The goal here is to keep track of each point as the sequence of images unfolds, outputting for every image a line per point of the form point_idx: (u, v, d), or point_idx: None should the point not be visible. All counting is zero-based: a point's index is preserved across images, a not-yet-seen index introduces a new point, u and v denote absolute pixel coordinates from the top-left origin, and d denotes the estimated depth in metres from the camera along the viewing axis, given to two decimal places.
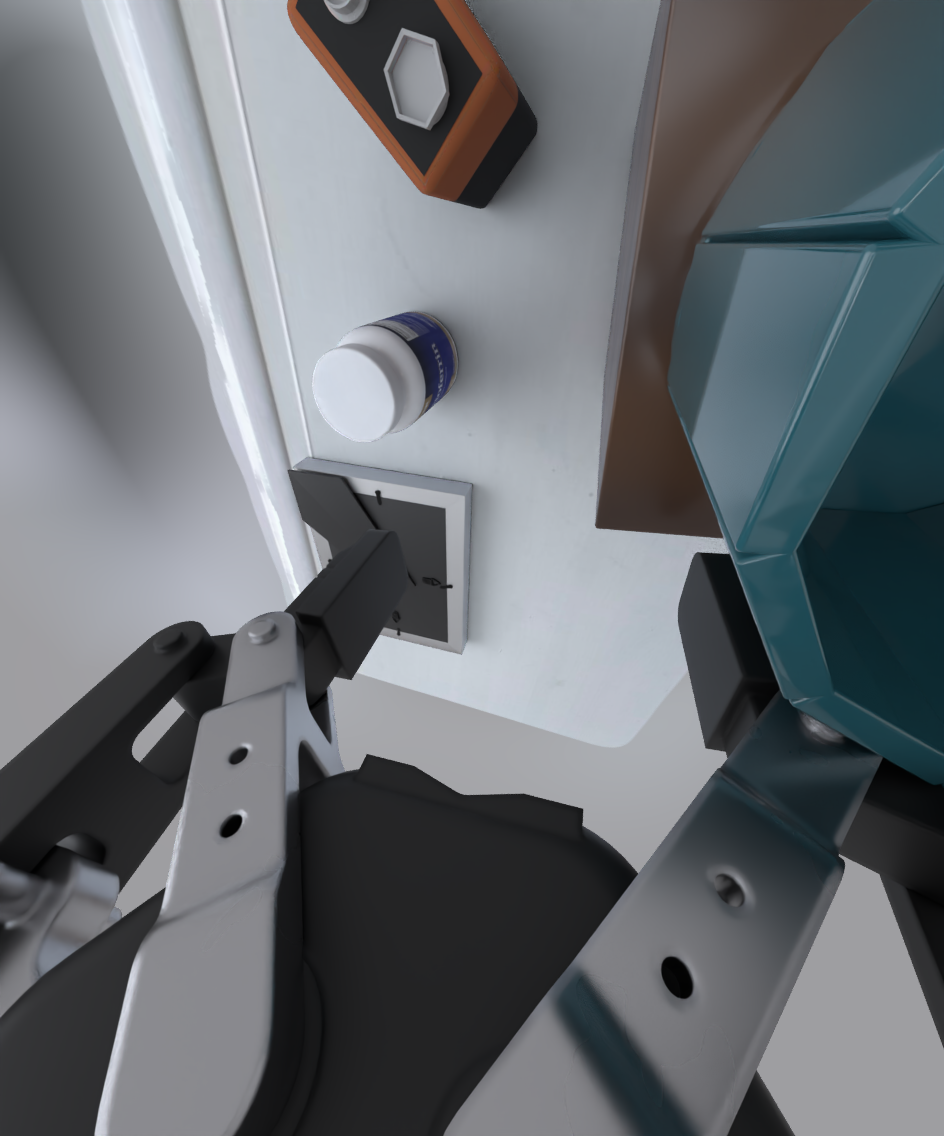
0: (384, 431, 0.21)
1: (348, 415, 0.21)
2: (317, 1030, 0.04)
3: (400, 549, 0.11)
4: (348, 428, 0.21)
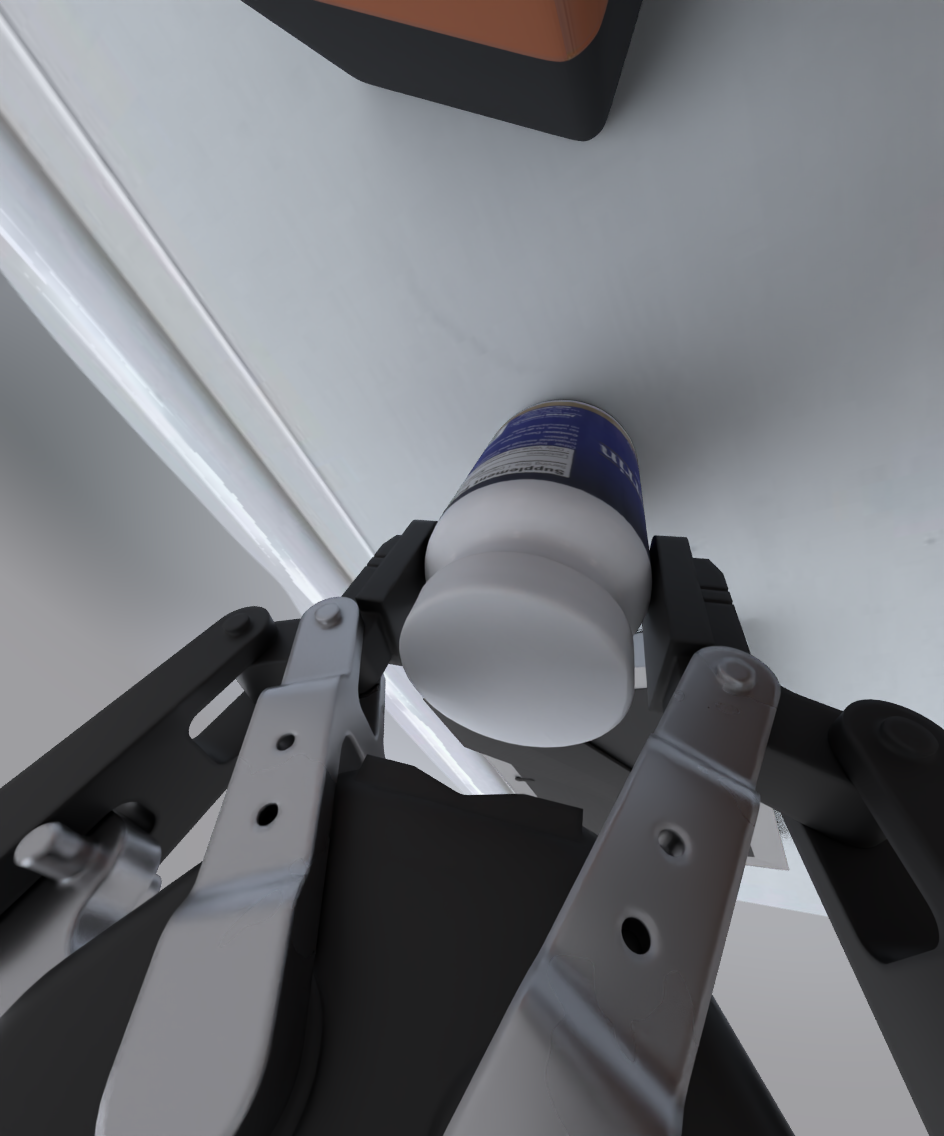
0: (612, 723, 0.08)
1: (507, 710, 0.08)
2: (317, 1029, 0.04)
3: None
4: (517, 729, 0.09)
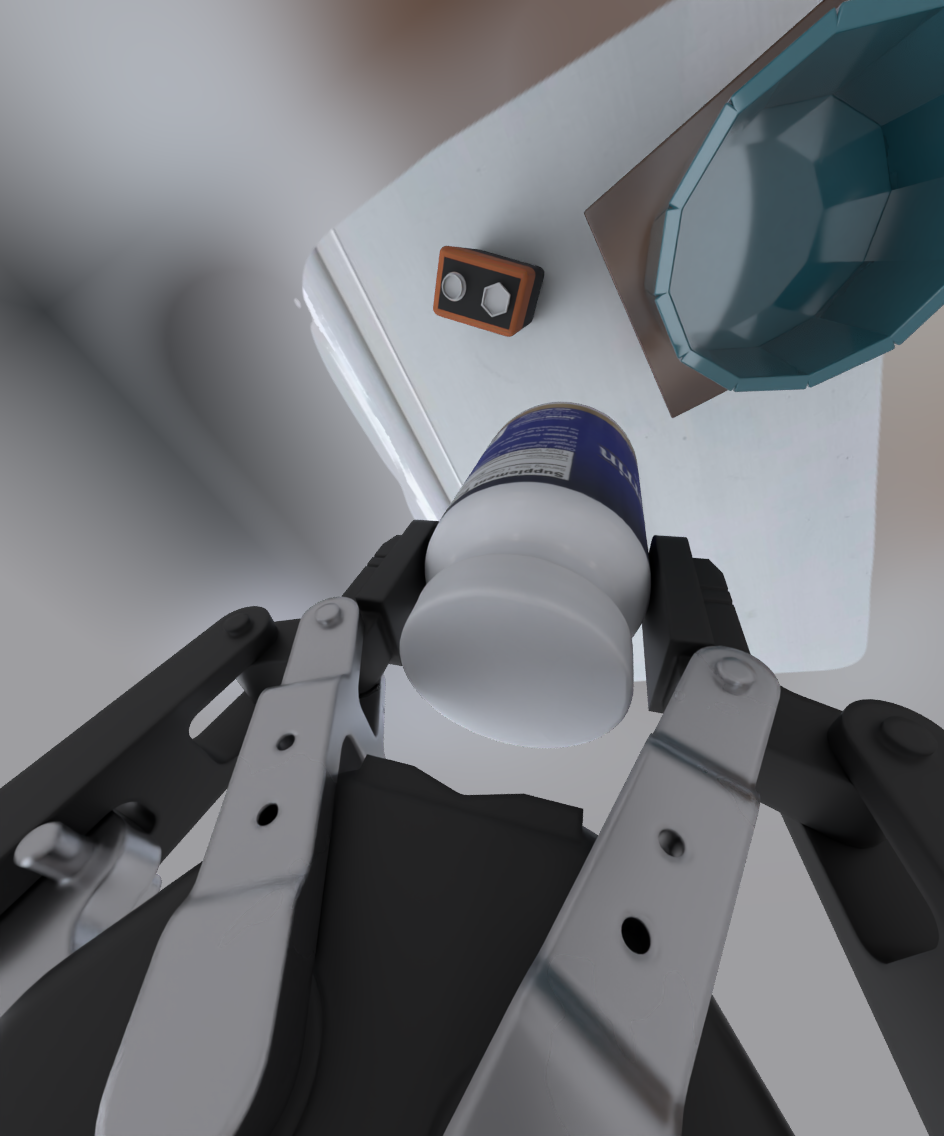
0: (611, 724, 0.08)
1: (507, 711, 0.08)
2: (317, 1030, 0.04)
3: None
4: (517, 731, 0.09)
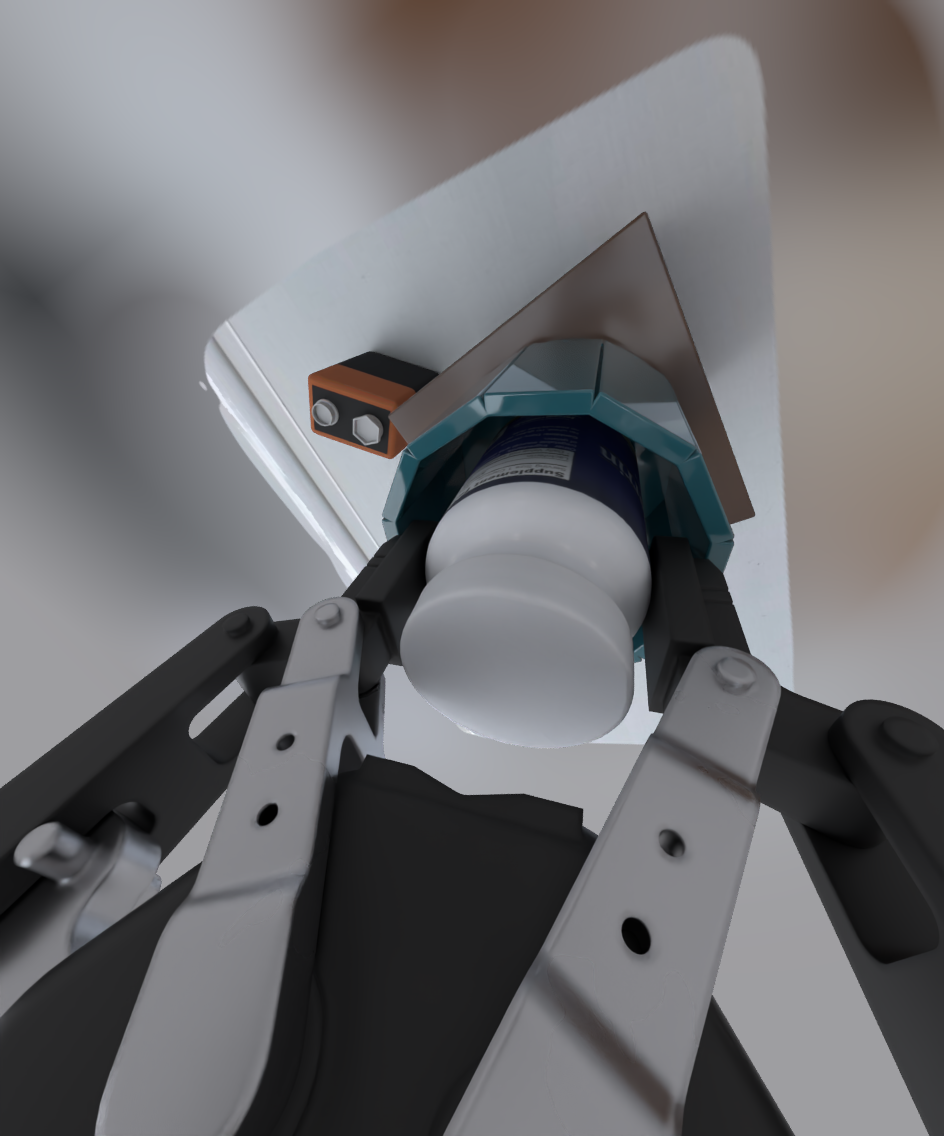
0: (612, 724, 0.08)
1: (508, 711, 0.08)
2: (317, 1030, 0.04)
3: None
4: (517, 731, 0.09)
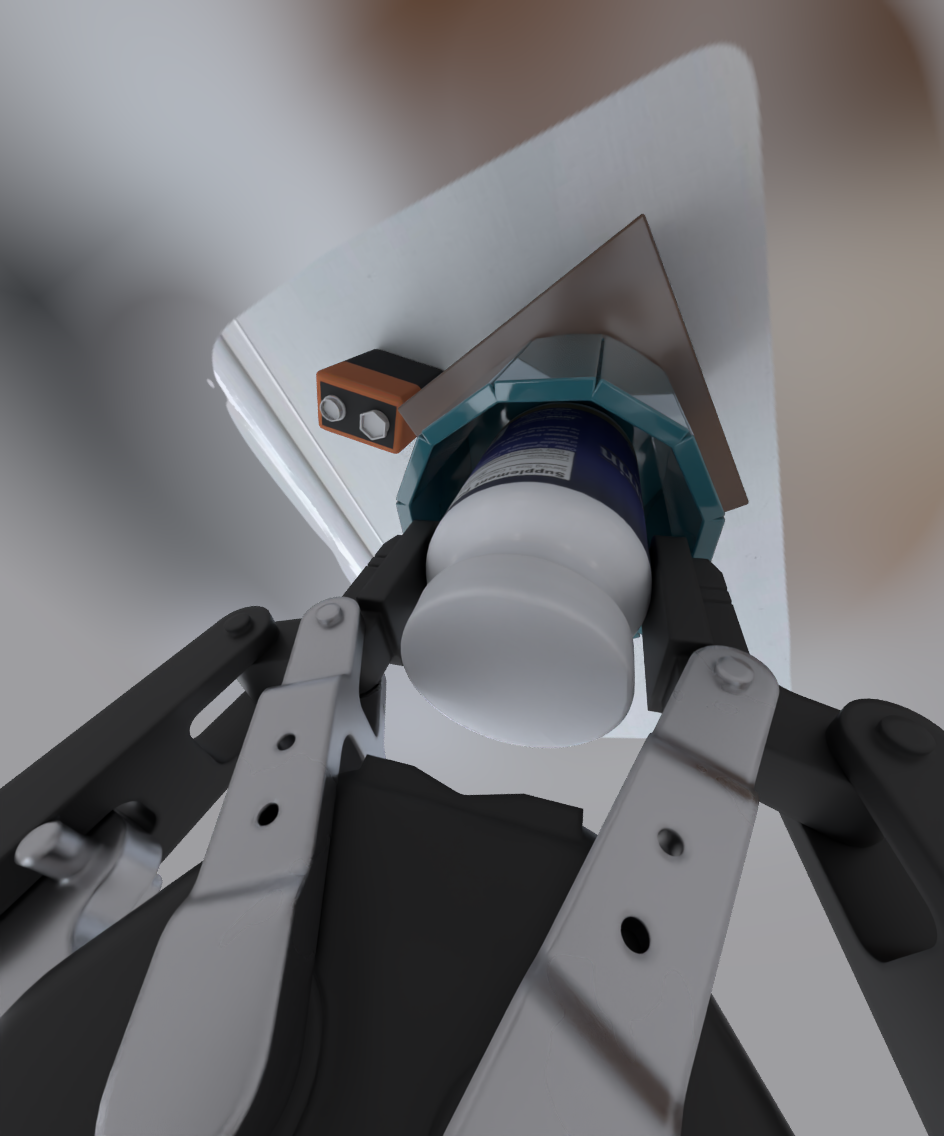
0: (612, 724, 0.08)
1: (509, 711, 0.08)
2: (317, 1029, 0.04)
3: None
4: (517, 730, 0.09)
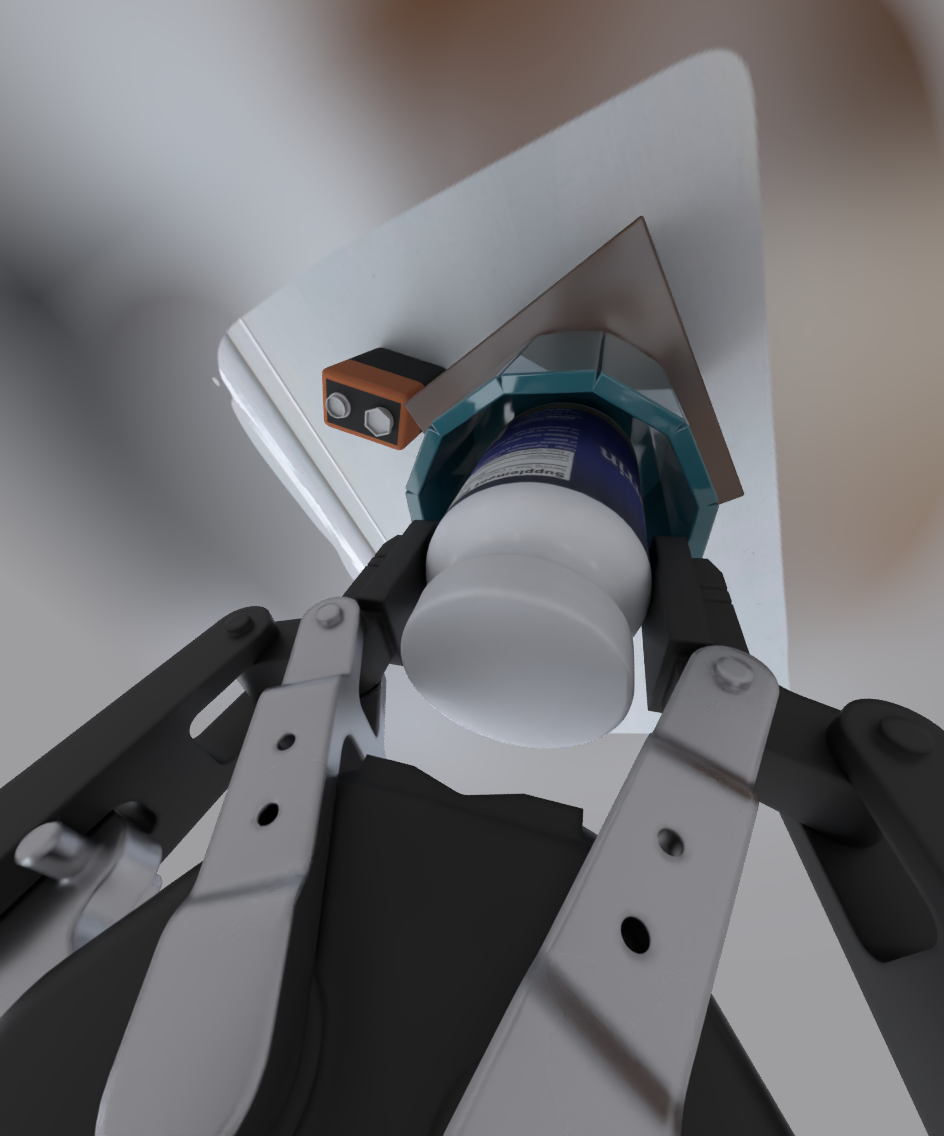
0: (612, 724, 0.08)
1: (508, 711, 0.08)
2: (317, 1030, 0.04)
3: None
4: (517, 731, 0.09)
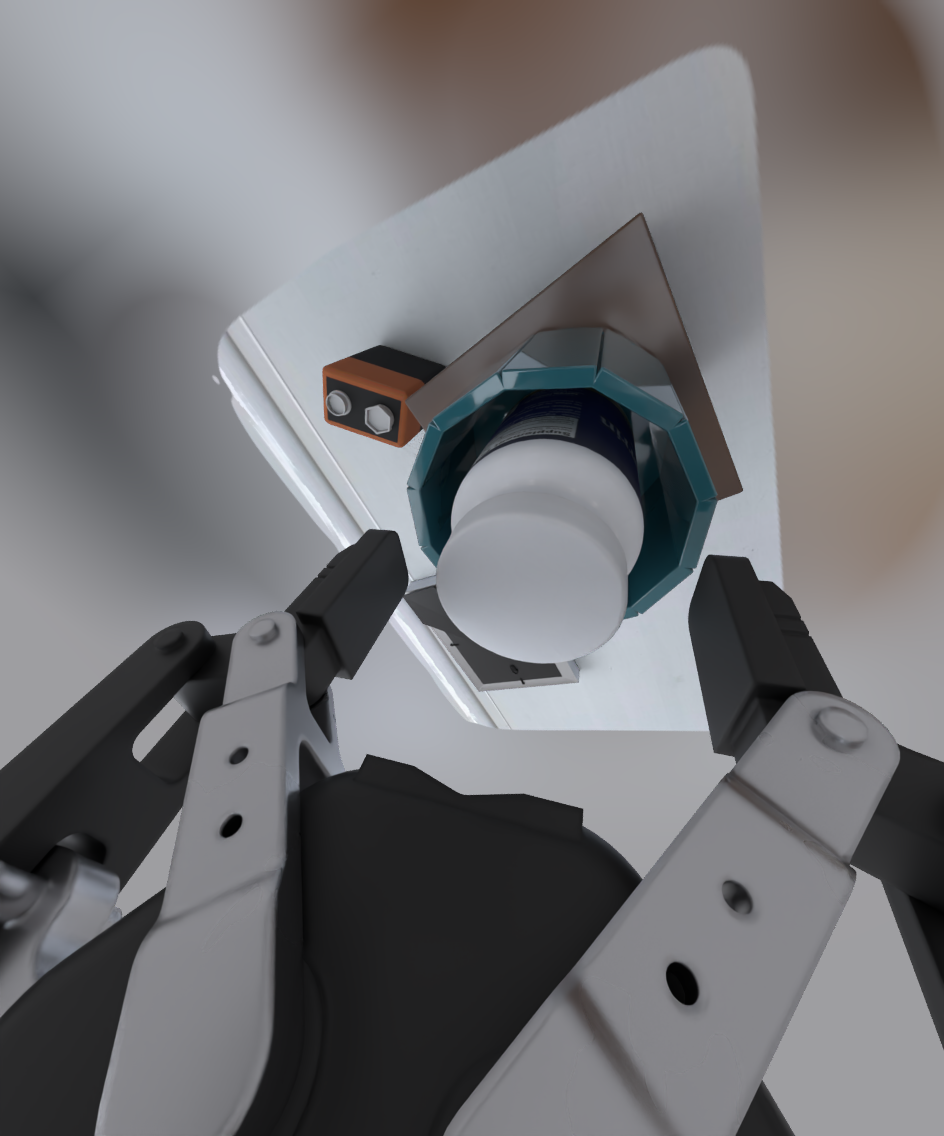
0: (610, 632, 0.09)
1: (524, 628, 0.10)
2: (317, 1030, 0.04)
3: (400, 549, 0.11)
4: (531, 647, 0.10)
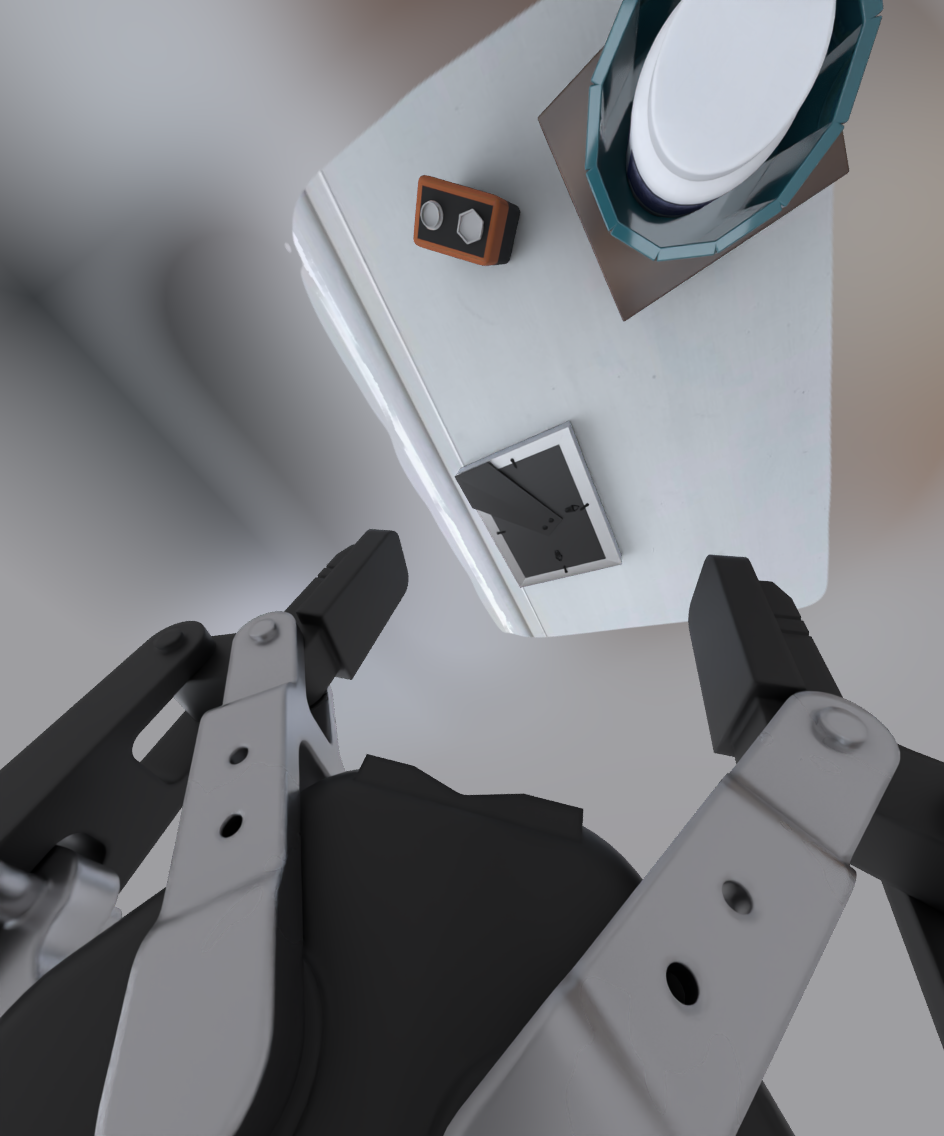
0: (808, 84, 0.11)
1: (726, 112, 0.12)
2: (317, 1030, 0.04)
3: (400, 549, 0.11)
4: (727, 142, 0.12)
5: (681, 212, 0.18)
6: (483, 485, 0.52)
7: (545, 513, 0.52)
